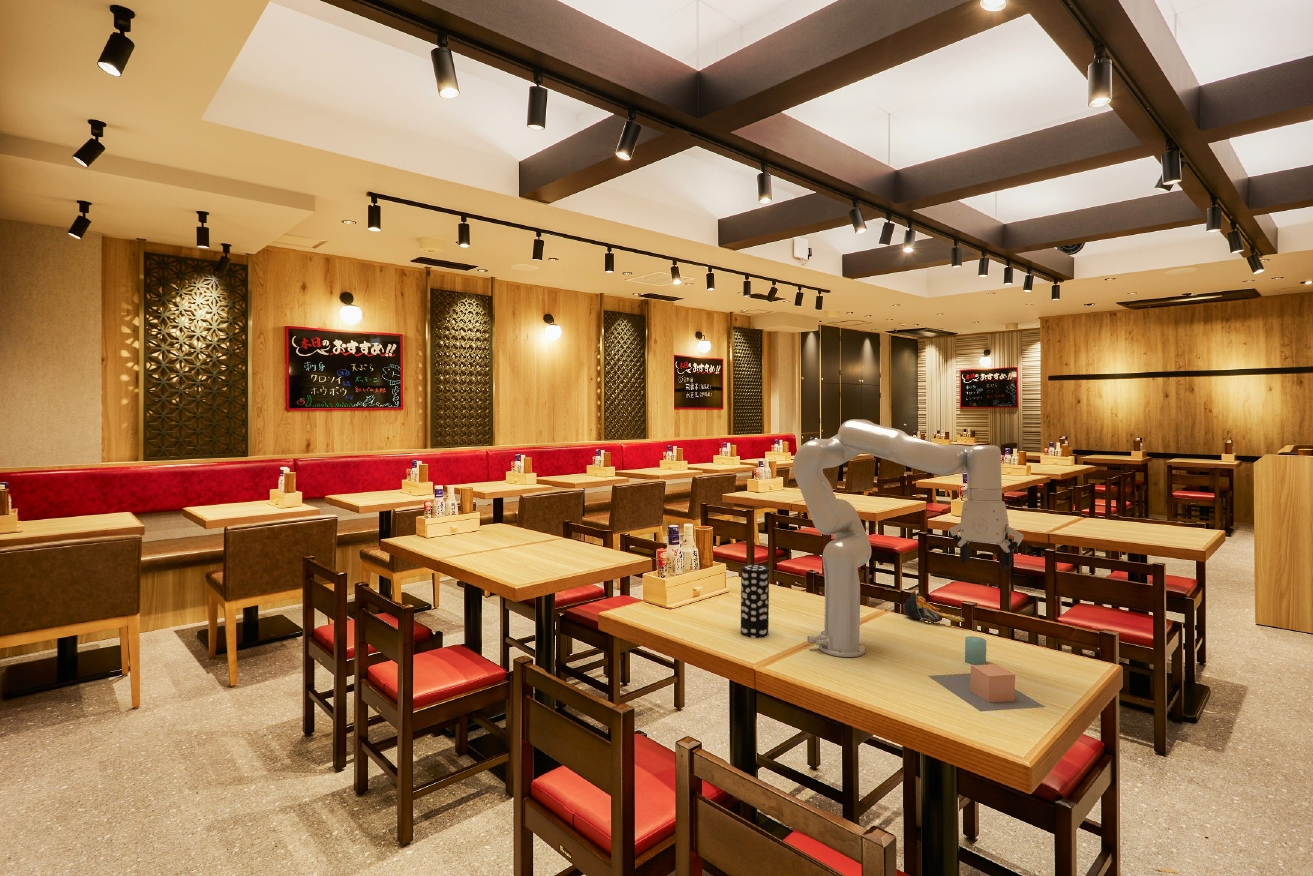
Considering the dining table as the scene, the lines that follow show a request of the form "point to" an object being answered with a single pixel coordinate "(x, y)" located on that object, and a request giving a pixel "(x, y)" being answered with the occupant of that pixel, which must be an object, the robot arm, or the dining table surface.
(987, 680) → the block
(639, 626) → the dining table surface
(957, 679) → the board
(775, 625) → the dining table surface
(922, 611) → the black and orange piece
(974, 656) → the cylinder
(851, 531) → the robot arm
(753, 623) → the spotted tube
